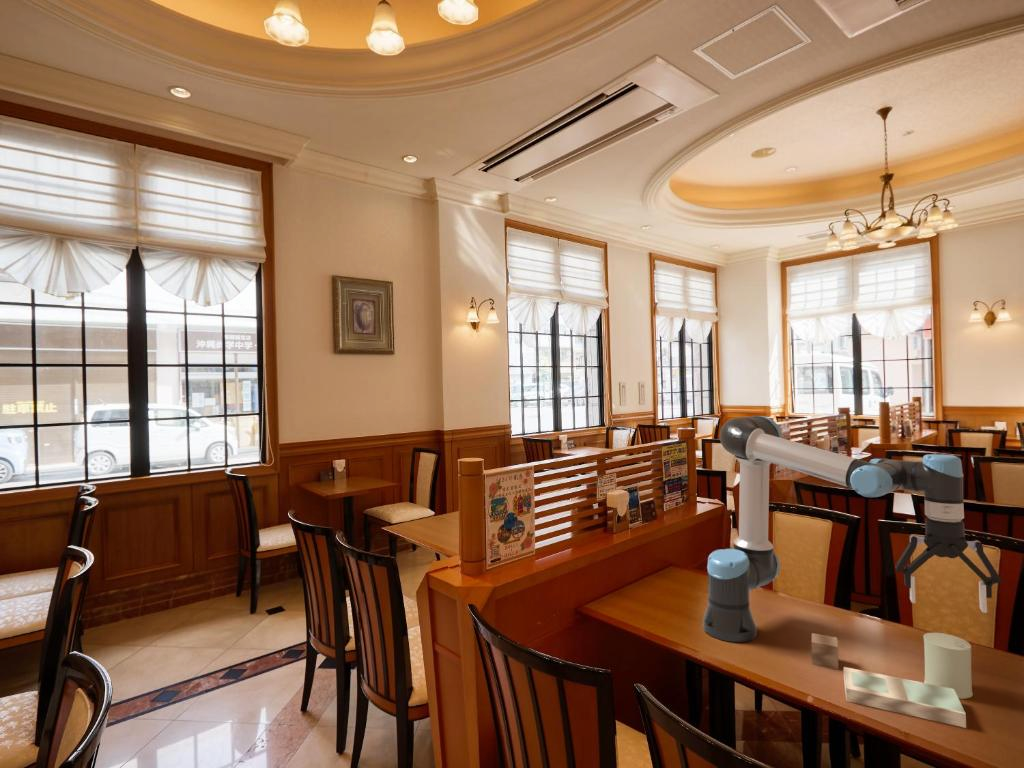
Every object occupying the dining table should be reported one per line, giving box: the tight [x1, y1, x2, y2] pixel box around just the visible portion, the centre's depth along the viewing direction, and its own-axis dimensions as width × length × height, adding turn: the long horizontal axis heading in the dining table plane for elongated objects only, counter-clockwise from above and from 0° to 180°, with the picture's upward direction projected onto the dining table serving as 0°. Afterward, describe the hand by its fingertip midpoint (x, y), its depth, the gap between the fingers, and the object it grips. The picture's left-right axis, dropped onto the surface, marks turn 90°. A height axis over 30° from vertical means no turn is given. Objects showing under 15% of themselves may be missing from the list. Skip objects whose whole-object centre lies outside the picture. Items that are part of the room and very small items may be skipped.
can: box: [923, 632, 974, 700], centre depth 132 cm, size 9×9×12 cm
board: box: [843, 666, 967, 729], centre depth 127 cm, size 22×11×3 cm, turn 61°
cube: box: [811, 632, 839, 671], centre depth 146 cm, size 6×6×6 cm
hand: (947, 605), depth 132 cm, fingers open, 13 cm apart
